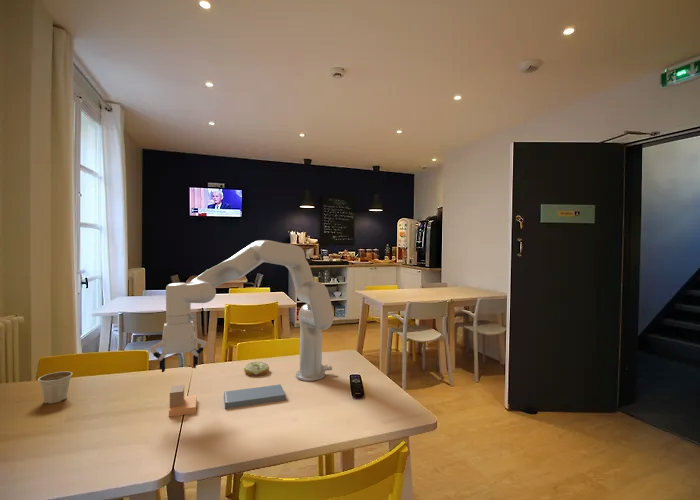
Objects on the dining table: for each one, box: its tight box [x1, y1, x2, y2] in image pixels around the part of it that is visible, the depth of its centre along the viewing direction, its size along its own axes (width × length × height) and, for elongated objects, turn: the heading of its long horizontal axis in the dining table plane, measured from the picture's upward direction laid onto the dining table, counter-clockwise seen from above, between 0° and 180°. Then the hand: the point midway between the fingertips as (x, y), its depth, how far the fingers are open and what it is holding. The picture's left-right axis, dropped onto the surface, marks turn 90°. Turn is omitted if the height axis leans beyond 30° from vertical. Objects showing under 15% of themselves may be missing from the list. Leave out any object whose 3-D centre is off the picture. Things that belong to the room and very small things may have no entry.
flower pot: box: [37, 371, 73, 404], centre depth 124 cm, size 9×9×9 cm
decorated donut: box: [243, 361, 270, 377], centre depth 155 cm, size 10×11×4 cm
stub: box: [168, 384, 198, 418], centre depth 120 cm, size 8×10×7 cm
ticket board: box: [223, 384, 287, 410], centre depth 129 cm, size 21×10×2 cm, turn 112°
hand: (179, 368), depth 119 cm, fingers open, 9 cm apart
